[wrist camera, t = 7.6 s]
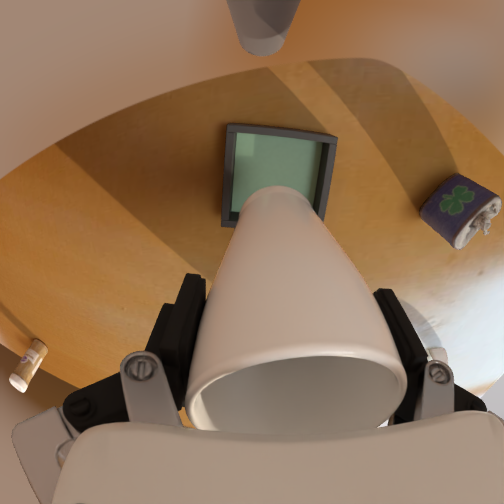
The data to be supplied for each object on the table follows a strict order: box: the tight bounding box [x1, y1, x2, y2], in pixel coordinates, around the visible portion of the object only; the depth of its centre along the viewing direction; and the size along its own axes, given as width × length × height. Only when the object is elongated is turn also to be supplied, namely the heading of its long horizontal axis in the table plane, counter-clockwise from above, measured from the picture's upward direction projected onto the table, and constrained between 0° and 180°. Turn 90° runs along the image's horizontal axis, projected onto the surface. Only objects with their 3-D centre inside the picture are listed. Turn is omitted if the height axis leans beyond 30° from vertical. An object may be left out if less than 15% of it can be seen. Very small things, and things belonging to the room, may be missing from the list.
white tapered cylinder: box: [185, 185, 407, 434], centre depth 14 cm, size 7×7×15 cm
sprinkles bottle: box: [9, 339, 48, 392], centre depth 44 cm, size 5×5×14 cm
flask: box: [419, 173, 502, 250], centre depth 27 cm, size 9×3×11 cm, turn 135°
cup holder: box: [221, 123, 338, 228], centre depth 30 cm, size 11×11×4 cm
